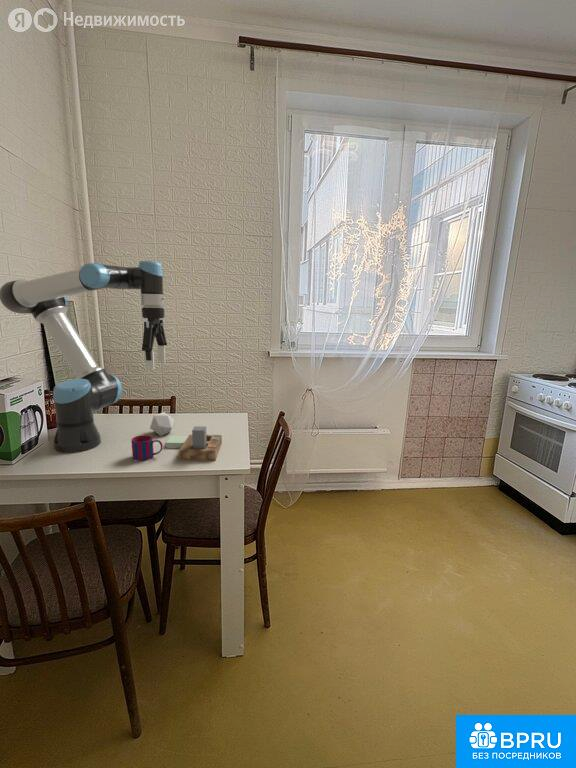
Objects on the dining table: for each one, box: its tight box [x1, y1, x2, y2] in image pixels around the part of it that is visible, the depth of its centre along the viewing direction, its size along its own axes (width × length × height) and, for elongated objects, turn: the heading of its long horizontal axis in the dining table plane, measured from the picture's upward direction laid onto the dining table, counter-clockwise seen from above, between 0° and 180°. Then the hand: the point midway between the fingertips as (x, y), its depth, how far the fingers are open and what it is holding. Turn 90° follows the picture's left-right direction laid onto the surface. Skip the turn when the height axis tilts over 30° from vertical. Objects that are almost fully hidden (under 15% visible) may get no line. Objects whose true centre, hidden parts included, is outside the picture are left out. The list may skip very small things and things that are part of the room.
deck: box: [165, 435, 189, 449], centre depth 142 cm, size 7×7×2 cm
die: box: [149, 411, 175, 437], centre depth 152 cm, size 8×9×10 cm
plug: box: [191, 425, 207, 449], centre depth 132 cm, size 4×4×10 cm
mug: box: [131, 434, 164, 462], centre depth 129 cm, size 7×10×7 cm
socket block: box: [179, 434, 223, 461], centre depth 136 cm, size 12×15×4 cm
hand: (156, 366), depth 140 cm, fingers open, 13 cm apart
